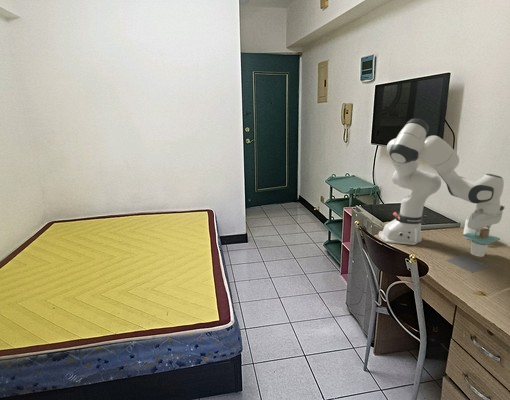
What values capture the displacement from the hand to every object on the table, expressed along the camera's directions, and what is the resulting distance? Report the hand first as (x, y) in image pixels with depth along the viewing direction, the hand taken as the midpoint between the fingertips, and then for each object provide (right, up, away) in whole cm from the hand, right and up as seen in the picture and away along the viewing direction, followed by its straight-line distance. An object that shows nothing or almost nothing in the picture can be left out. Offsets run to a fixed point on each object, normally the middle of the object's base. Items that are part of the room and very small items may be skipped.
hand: (481, 234), depth 159 cm
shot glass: (0, -11, +4) cm, 12 cm away
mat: (-11, -14, -5) cm, 18 cm away
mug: (+10, -5, +21) cm, 24 cm away
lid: (0, -2, +1) cm, 2 cm away
